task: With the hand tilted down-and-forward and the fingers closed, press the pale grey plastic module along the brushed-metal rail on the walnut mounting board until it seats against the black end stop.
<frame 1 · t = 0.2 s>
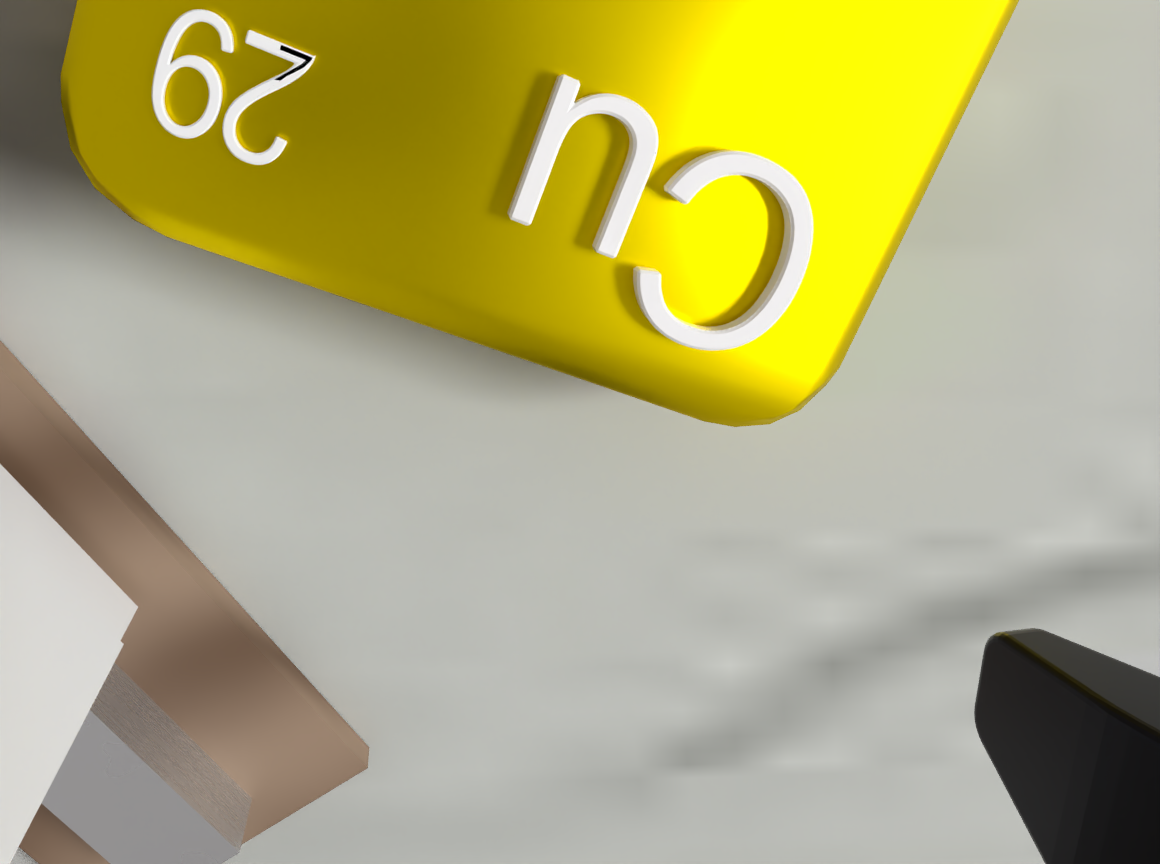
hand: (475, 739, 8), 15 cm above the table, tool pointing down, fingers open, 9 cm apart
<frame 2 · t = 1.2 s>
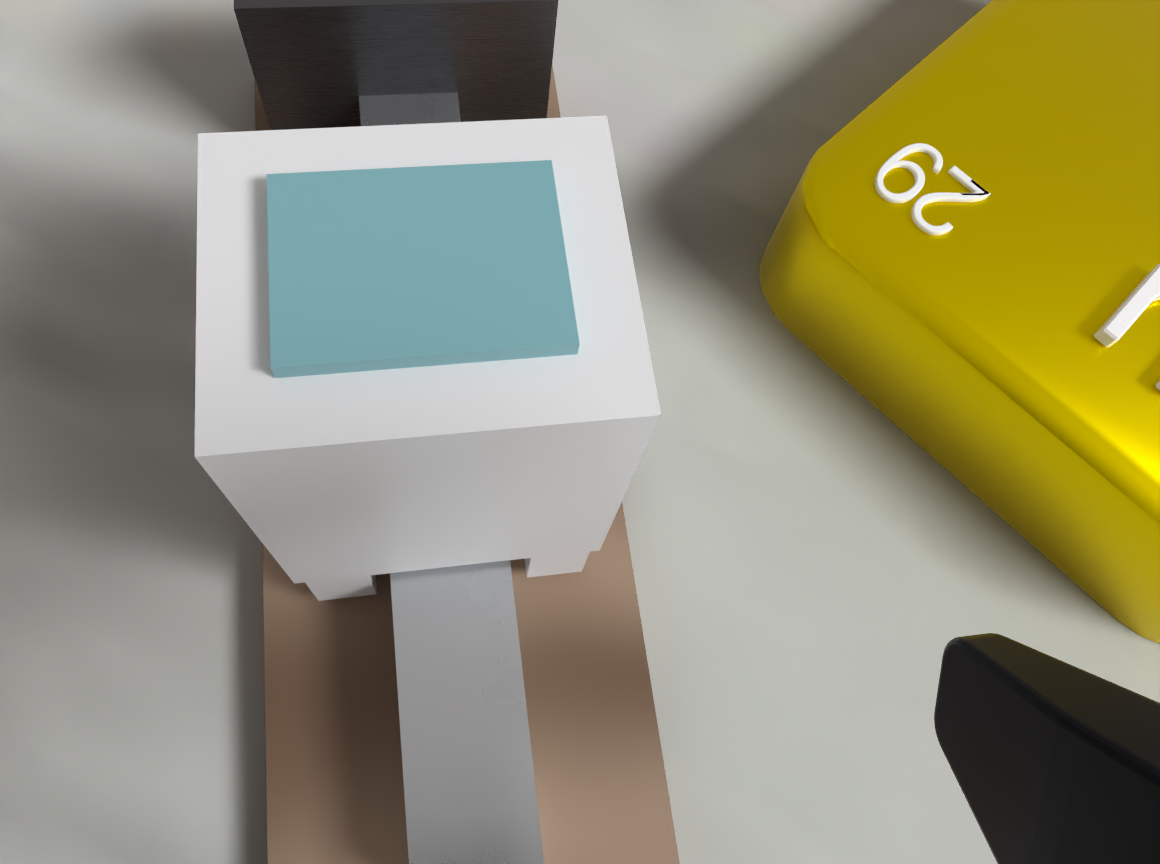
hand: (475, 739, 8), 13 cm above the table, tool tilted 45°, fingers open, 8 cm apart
module: (434, 393, 17), point 6 cm above the table, slide at 0.0 cm
mounting board: (434, 377, 23), on the table
rail: (433, 379, 20), on the mounting board, point 3 cm above the table
element tile: (1088, 306, 27), on the table
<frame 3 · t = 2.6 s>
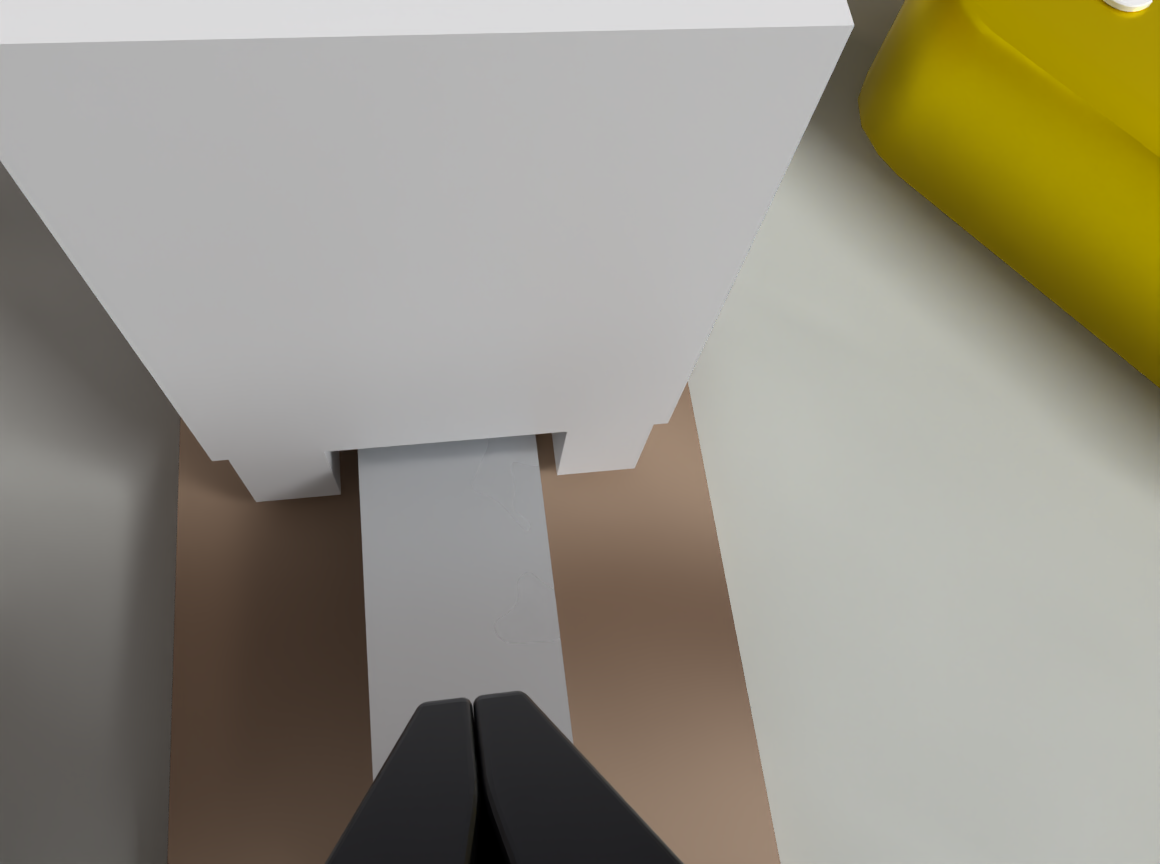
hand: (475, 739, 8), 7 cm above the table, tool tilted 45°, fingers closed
module: (424, 150, 11), point 6 cm above the table, slide at 0.0 cm
mounting board: (428, 223, 17), on the table
rail: (425, 184, 14), on the mounting board, point 3 cm above the table
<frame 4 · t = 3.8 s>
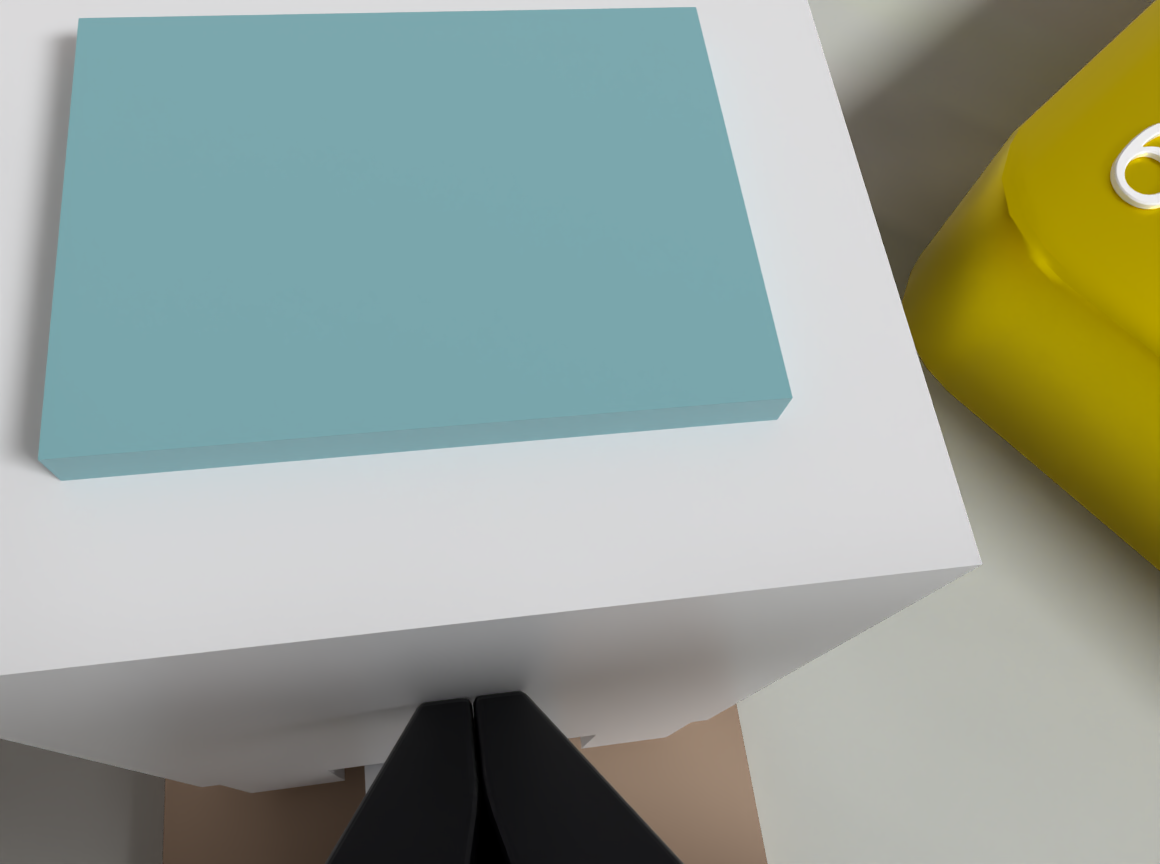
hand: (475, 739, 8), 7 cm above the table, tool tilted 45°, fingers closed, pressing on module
module: (440, 472, 10), point 6 cm above the table, slide at 0.7 cm, touching gripper
mounting board: (440, 466, 16), on the table
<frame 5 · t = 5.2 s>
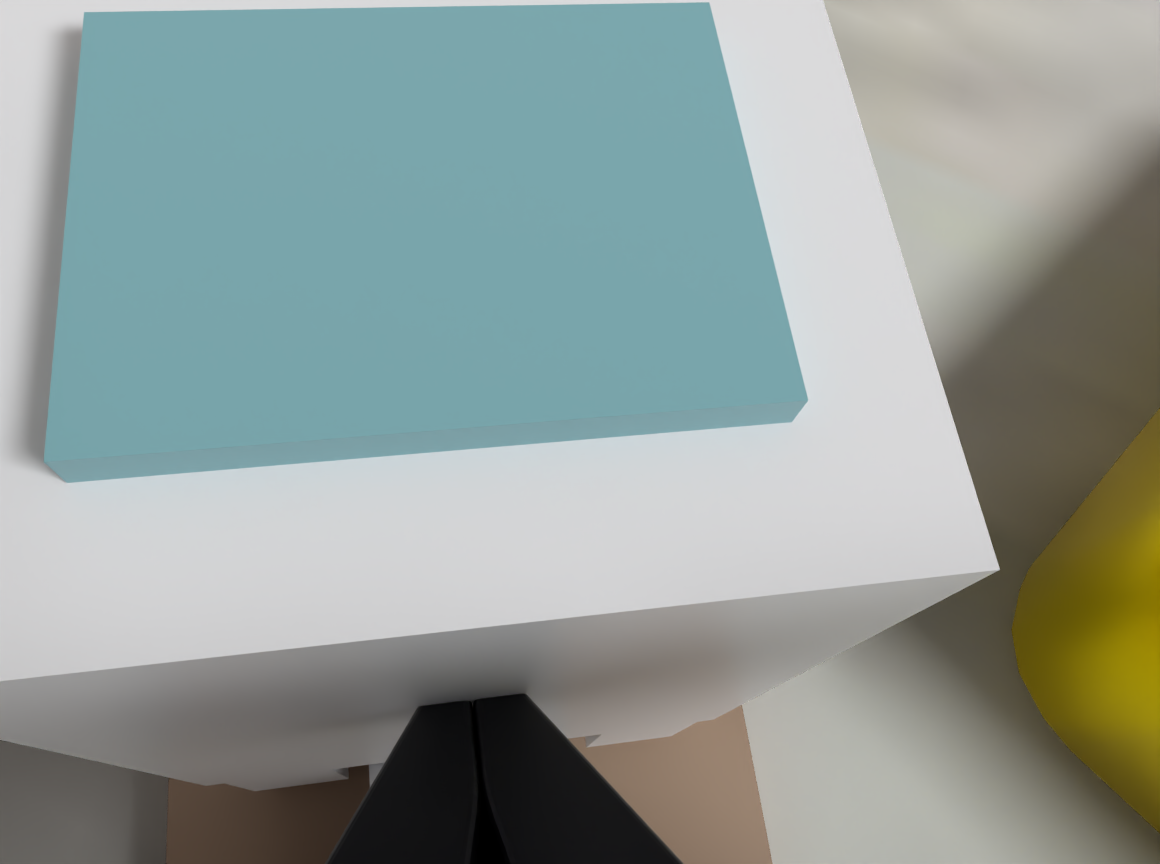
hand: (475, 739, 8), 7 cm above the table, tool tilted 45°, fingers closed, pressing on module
module: (446, 471, 10), point 6 cm above the table, slide at 7.0 cm, touching gripper, rail
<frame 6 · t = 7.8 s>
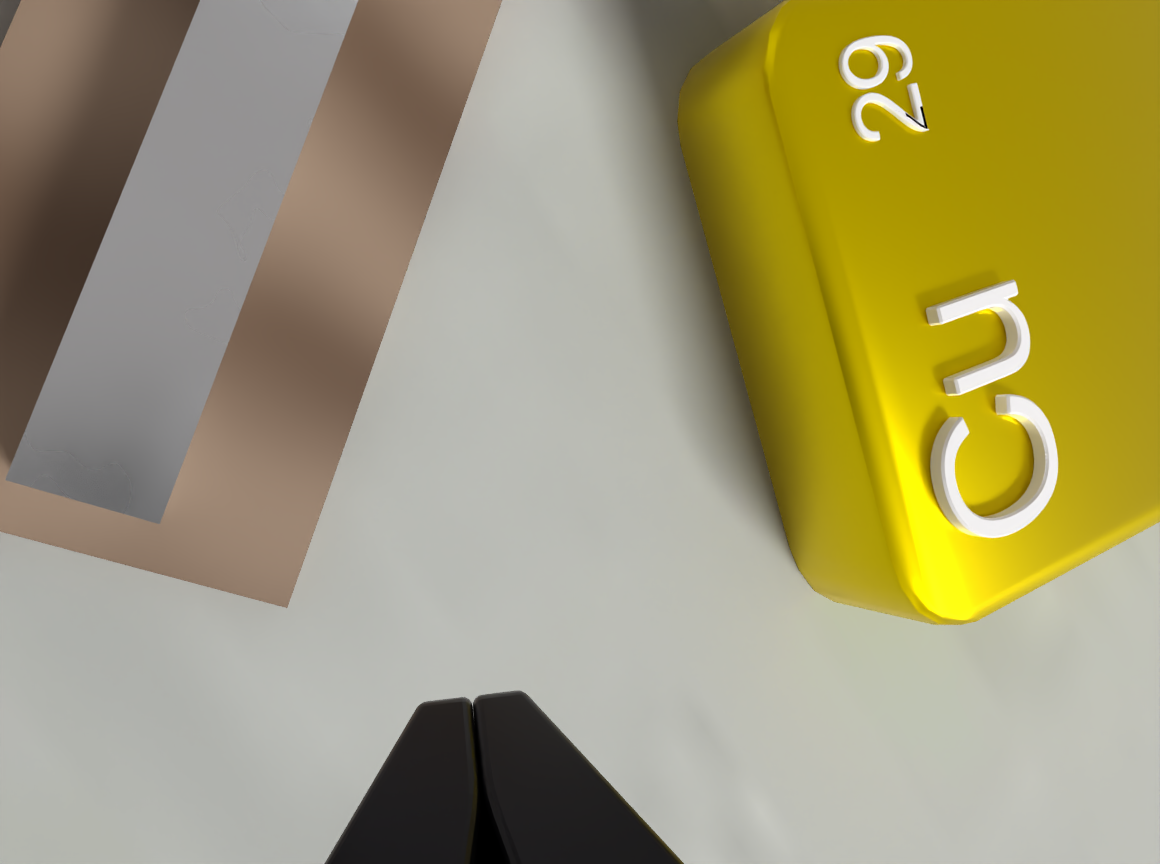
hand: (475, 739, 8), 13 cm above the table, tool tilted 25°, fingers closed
element tile: (931, 285, 28), on the table
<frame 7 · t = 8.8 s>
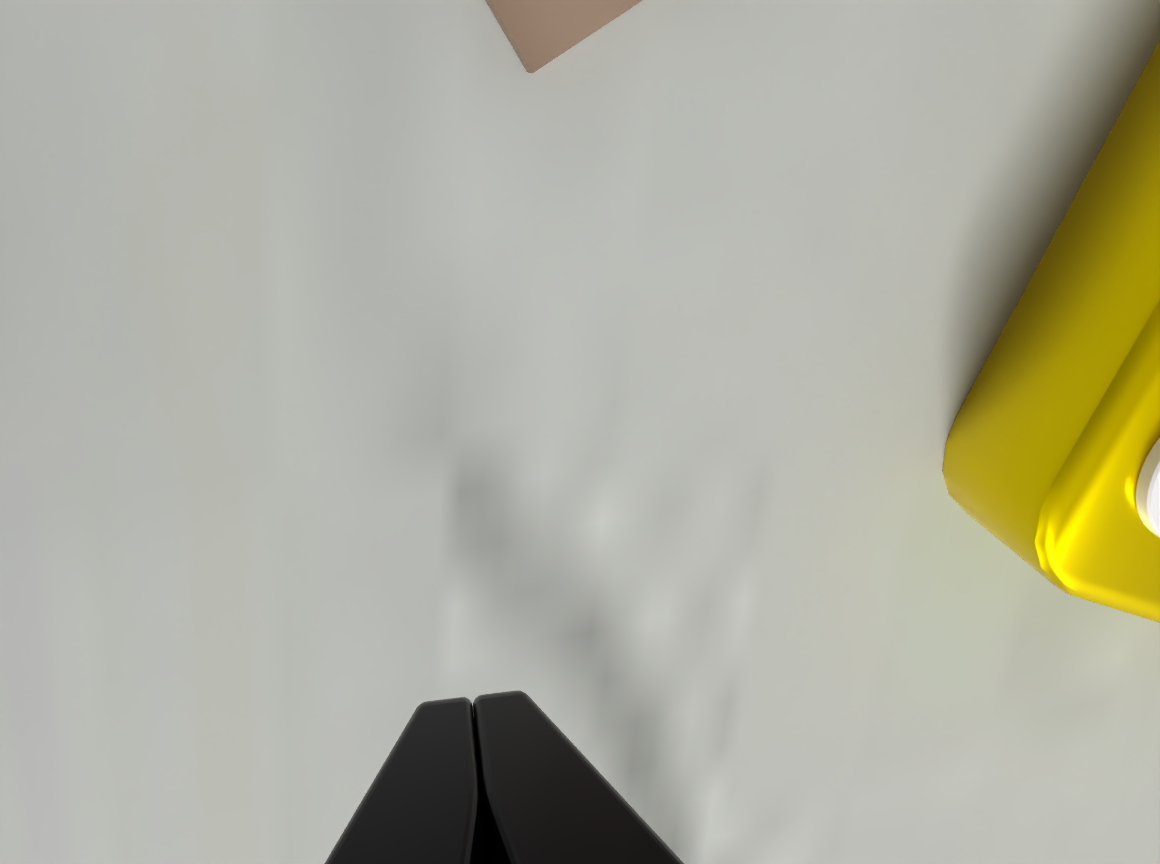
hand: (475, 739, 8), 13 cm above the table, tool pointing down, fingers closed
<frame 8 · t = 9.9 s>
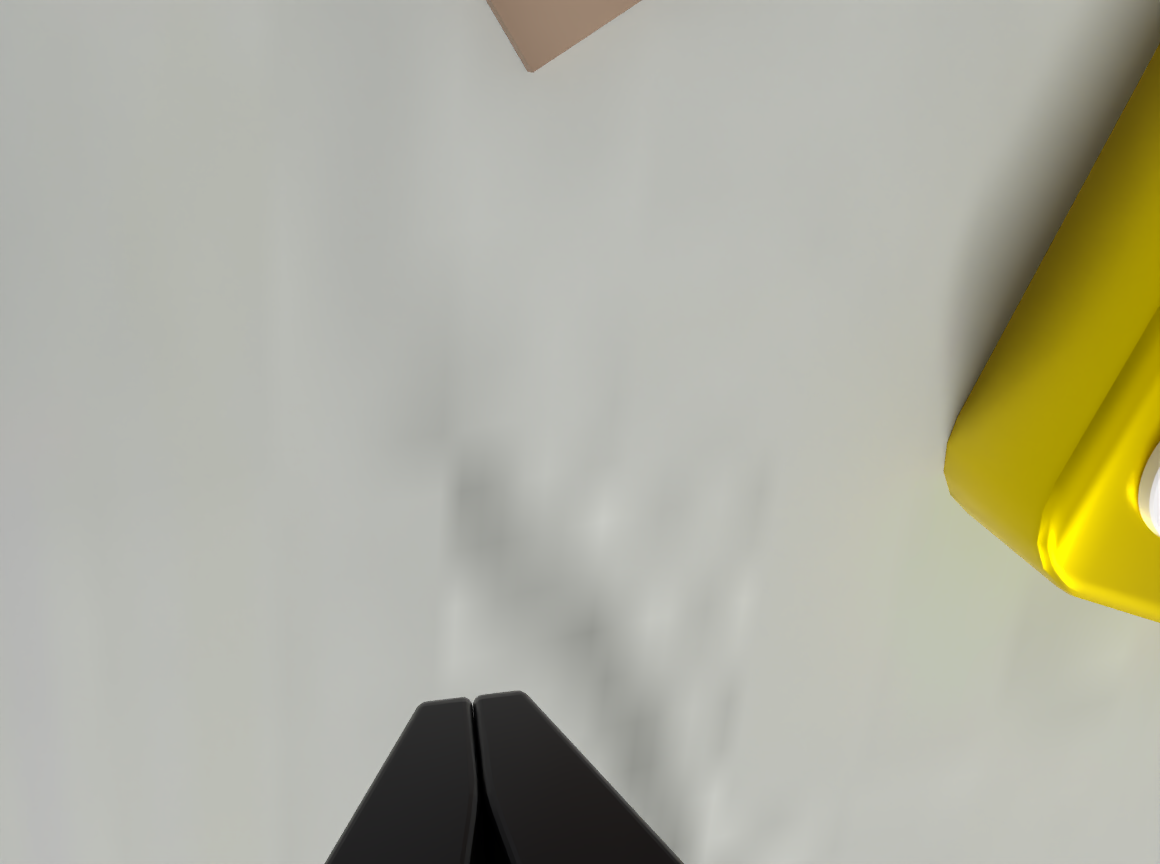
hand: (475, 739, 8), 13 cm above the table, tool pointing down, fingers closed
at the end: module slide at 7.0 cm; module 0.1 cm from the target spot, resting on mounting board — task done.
